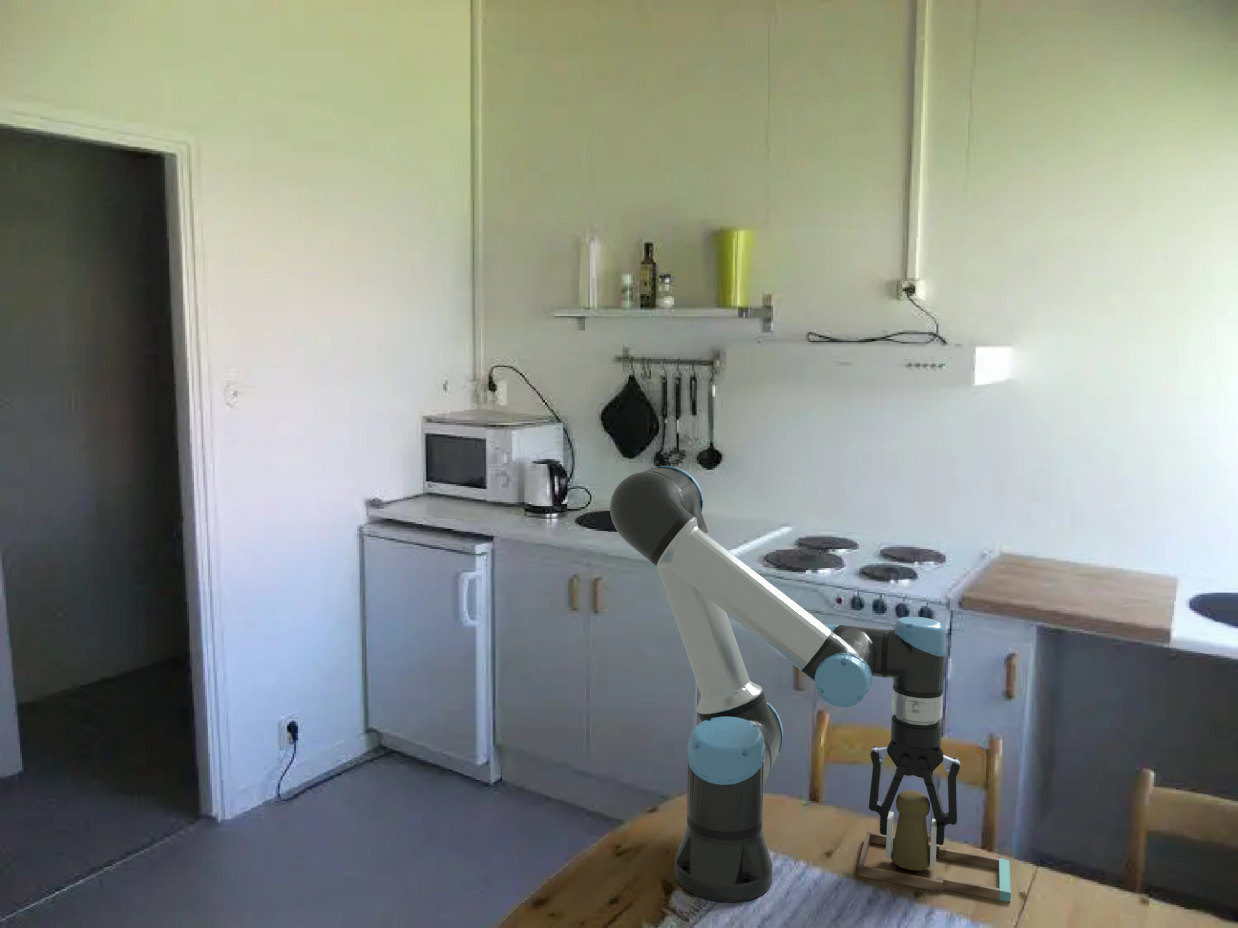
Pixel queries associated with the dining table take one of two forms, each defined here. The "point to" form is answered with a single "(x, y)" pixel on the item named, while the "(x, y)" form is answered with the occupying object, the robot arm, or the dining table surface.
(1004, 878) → the keyhole track
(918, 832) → the cork
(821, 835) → the dining table surface
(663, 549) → the robot arm
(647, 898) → the dining table surface
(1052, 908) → the dining table surface
